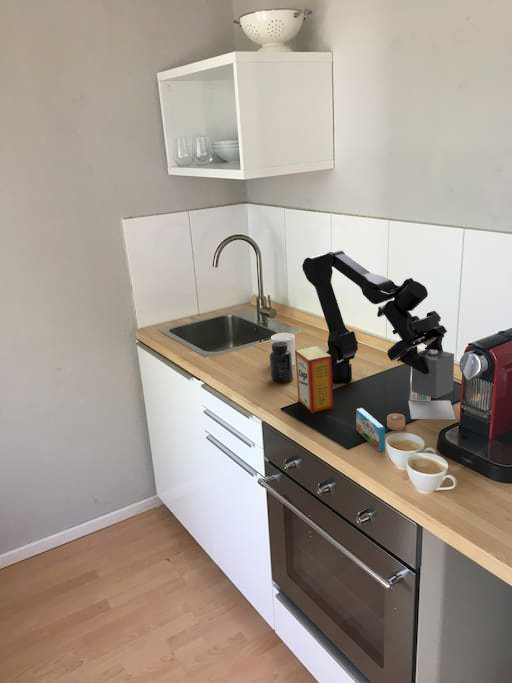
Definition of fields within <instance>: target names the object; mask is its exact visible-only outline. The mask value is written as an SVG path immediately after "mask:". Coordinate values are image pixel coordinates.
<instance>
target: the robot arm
mask: <svg viewBox="0 0 512 683" xmlns="http://www.w3.org/2000/svg"><path fill="white" fill-rule="evenodd" d="M301 266H302V271H303V273H304V275H305V278H306V279H307V281H308V282H309V283H310V284H311V285H312V286H313V287H314V288H315V291H316V294H317V297H318V301H319V305H320V307H321V310H322V314H323V316H324V320H325V323H326V326H327V329H328V337H327V343H326V344H327V347H328V350H327V351H325V352H326V353H328V354H329V355H331V361H332V384H350V383H351V380H352V379H353V365H352V363H351V362H350V360H354V359H355V357H356V353H357V351H358V350H359V349H358V348H359V346H358V344H359V342H358V340H357V337H356V333H355V331H353V330H351V331H350V330H349V329H348V328H347V327H346V325H345V322H344V319H343V316H342V313H341V310H340V306H339V304H338V300H337V298H336V294H335V291H334V287H333V285H332V277H333V272H334V271H333V269H335V270H336V271H338V272H340V273H341V274H342V275H343V276H344V277H346V278H347V279H349V280H350V281H351V282H353V284H355V285H356V286H358V287H359V288H360V290H361V292H362V295H363V296H364V297H365V298H366V299H367V300H368V301H369V303H371V304H372V305H378V304H382V303H384V302H386V303H385V304H383V305H380V306H378V310H377V315H376V316H377V318H380V317H383V316H384V317H385V318H386V320H387V321H388V322H389V323H390V326H392V327H393V330H391V333H393V335H398V336H399V338H400V340H398V341H397V342H395V343H394V344H393V345H392V346H391V347H390V348H389V349H387V354H386V355H387V357H388V359H389V360H390V362H393V361H395V360H396V361H397V362H401V363H403V364H405V365H407V366H409V367H410V368H411V367H413V368H414V369H416V370H418V371H420V372H421V373H423V374H425V375H426V374H428V373H429V372H428V370H427V368H426V366H425V365H424V363H423V362H422V360H421V358H420V357H419V355H418V352H419V351H418V346H420V345H424V346H425V347H424V350H427V349H429V348H430V349H436V350H440V351H444V349H443V344H442V343H443V338H445V334H446V333H448V331H447V329H446V327H445V326H444V325H442V324H440V322H441V318H442V317H441V316H440V314H439V313H438V312H437V311H436V310H431V311H430V312H427V313H426V317H423V318H421V319H420V318H419V316H417V315H414V316H413V315H412V313H411V311H415V309H416V308H417V307H419V305H420V304H421V303H422V302H423V301H425V299H426V298H428V294H429V292H428V289H427V287H426V286H425V285H423V283H420V282H419V281H415V280H414V279H413V278H412V277H408V278H406V279H405V280H404V281H403V283H402V284H401V285H400V284H396V283H395V282H394V281H393V280H391V279H389V278H387V277H385V276H384V275H383V276H382V275H380V274H379V275H378V274H374V273H372V272H370V271H369V270H368V269H366V268H365V267H364V266H362V265H361V264H359V263H358V262H356V261H355V260H353V259H352V258H351V257H350V256H348V255H347V254H345V252H344V251H343V250H341V249H337V250H332V251H329V252H327V253H321V254H318V255H317V254H316V255H313V256H309V257H306V258H305V259H304V260H303V262H302V265H301Z"/></svg>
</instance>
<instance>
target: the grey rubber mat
mask: <svg viewBox="0 0 512 683" xmlns="http://www.w3.org/2000/svg"><path fill="white" fill-rule="evenodd" d="M408 406H409V407H408V408H409V413H410V420H457V418H456V415H455V412H454V409H453V406H452V402H451V400H431V401H414V400H408Z"/></svg>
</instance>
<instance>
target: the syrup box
mask: <svg viewBox="0 0 512 683" xmlns="http://www.w3.org/2000/svg"><path fill="white" fill-rule="evenodd" d="M409 401H432V397H429V396H425V395H422V394H419V393H415V392H412V367H411V366H410V384H409Z"/></svg>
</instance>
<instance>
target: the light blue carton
mask: <svg viewBox="0 0 512 683" xmlns="http://www.w3.org/2000/svg"><path fill="white" fill-rule="evenodd" d="M355 422H356V423H355V424H356V425H355V426H356V431H357V432H358V433H359V434H360V435H361V436H362V437H363V438H364V439H365V440H366V441H367V442H368V443H369V444H370V445H372V447H374V449H376V450H377V451H378V452H382V451H385V450H386V428H385V426H384V425H383V424H381V422H379V421H378V420H377V419H376V418H374V417H373V416H372V415H371V414H370V413H368V411H366V410H365V409H364V408H363V407H359V408H356V409H355Z"/></svg>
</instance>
